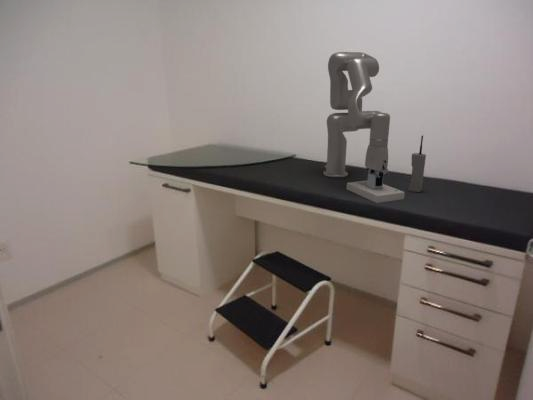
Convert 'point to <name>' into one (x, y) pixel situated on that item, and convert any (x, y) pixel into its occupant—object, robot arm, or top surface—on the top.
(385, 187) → the outlet plate
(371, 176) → the charger block
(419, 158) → the vintage mobile phone
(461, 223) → the top surface
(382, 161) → the robot arm
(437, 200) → the top surface
